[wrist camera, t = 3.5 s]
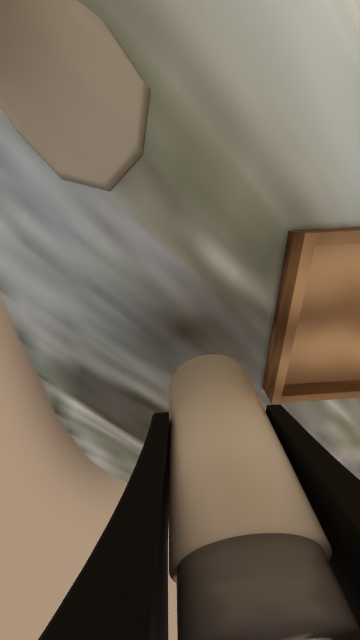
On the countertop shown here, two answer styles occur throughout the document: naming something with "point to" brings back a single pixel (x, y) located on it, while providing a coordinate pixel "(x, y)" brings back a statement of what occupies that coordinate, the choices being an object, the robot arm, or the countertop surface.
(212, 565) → the pepper shaker
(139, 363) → the countertop surface
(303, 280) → the tray
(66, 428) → the countertop surface
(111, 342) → the countertop surface
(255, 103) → the countertop surface
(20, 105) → the flask
